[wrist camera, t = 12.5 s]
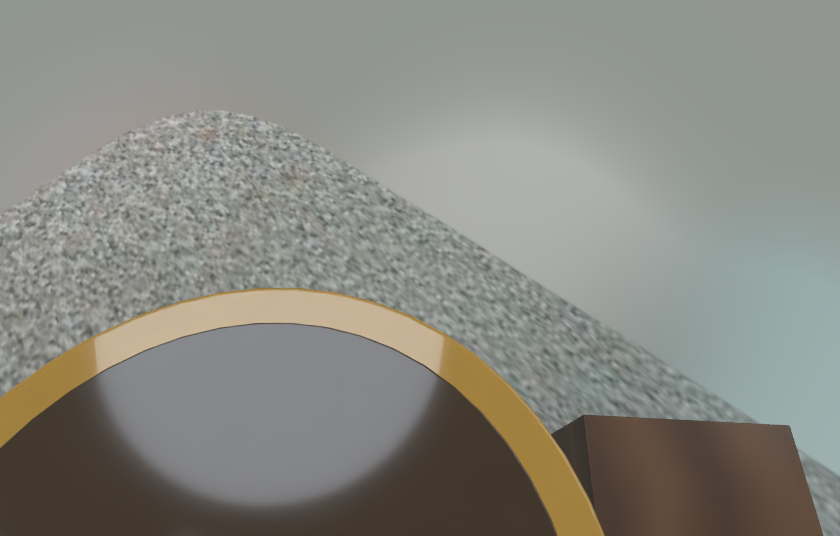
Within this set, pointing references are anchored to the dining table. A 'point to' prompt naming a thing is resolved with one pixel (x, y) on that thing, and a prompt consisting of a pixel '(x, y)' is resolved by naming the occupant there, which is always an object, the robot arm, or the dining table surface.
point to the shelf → (690, 477)
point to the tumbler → (279, 430)
